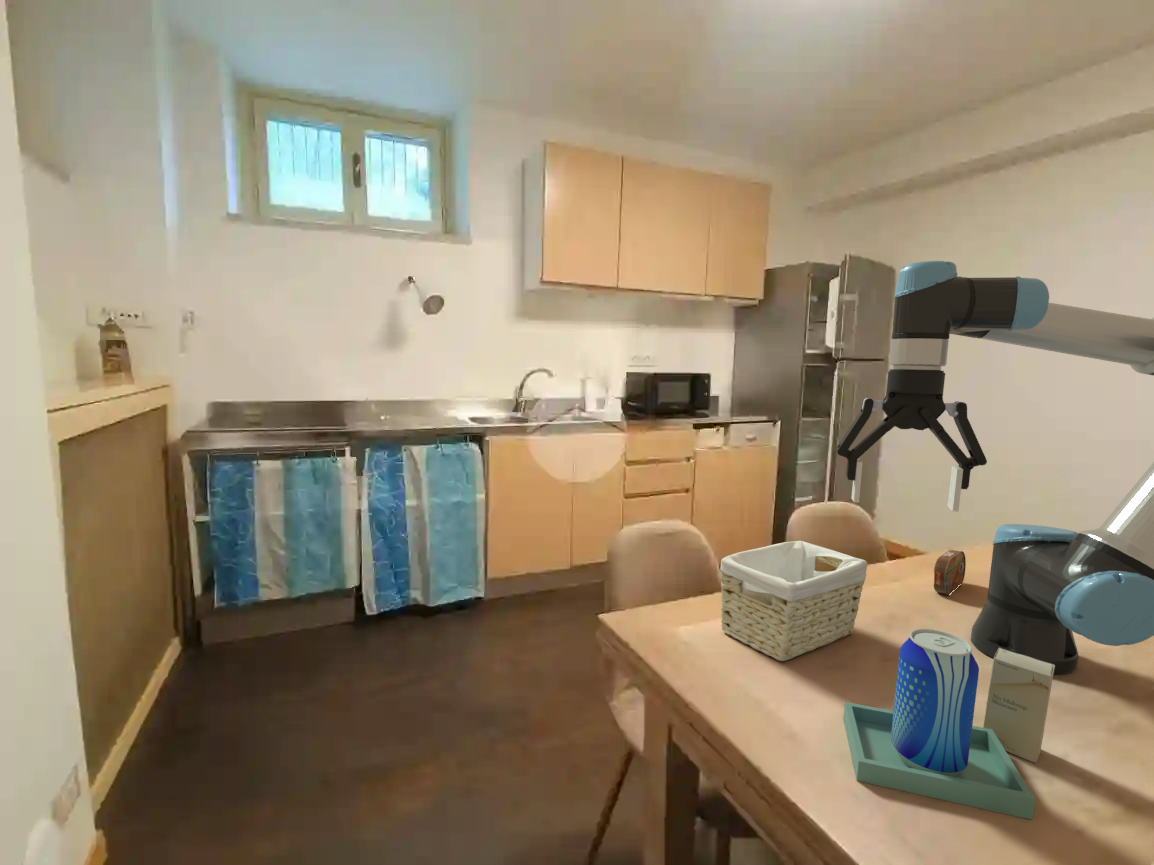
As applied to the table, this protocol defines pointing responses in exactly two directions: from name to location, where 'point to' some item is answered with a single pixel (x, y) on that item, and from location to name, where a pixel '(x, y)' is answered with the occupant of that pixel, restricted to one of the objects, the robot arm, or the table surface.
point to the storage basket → (790, 597)
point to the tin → (949, 571)
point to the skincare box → (1019, 702)
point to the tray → (978, 785)
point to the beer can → (934, 702)
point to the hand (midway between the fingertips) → (902, 505)
